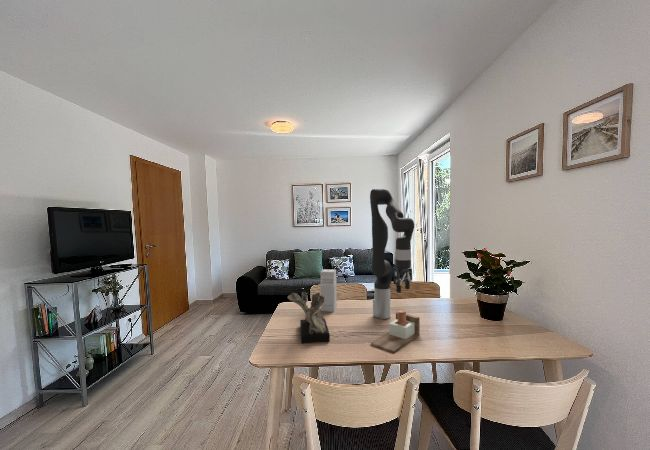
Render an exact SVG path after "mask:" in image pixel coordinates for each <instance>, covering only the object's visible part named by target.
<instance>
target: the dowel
mask: <svg viewBox="0 0 650 450" xmlns="http://www.w3.org/2000/svg"><path fill="white" fill-rule="evenodd" d="M397 312H398V324H399V325H402V326H405V325H406V314H407V311H404V310H398V311H397Z"/></svg>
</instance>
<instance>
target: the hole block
mask: <svg viewBox="0 0 650 450" xmlns="http://www.w3.org/2000/svg"><path fill="white" fill-rule="evenodd" d="M388 332H389V334H390V335H393V336H396V337H399V338H403V339H407V338H409V337H410V336H412V335H413V334H415V323H414V322H410V321H407V320H406V325H405V326H402V325H399V324H398V319H396V318H395V319H394V320H392V321H391V322H389V323H388Z"/></svg>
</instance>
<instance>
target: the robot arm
mask: <svg viewBox="0 0 650 450" xmlns="http://www.w3.org/2000/svg"><path fill="white" fill-rule="evenodd" d="M369 204H370V211H371V238H372V240H371V241H372V242H371V243H372V257H371V258H372V259H371V271H372V274H373V276H375V277H376V279H375V281H374V283H373V284H374V286H373V287H374V289H373V290H374V299H372V316H373V317H375V318H377V319H380V320H386V319H390V318H391V285H392V276H393V284H394V285H396V286H395V287H396V288H395V289H396V290H395V291H396V293H399V294H402V283H403V281H404V289H405V290H410V289H411V284H410V283H411V281H412V280H413V268H412V250H411V241H412V237H413V233H414V230H415V221H414V220H413V219H412V218H411V217H404V213H403V212H402V211H401V210H400V208H399V207H398V205H397V204H396V202H395V199H394V198H393V196H392V194H391V192H390V190H389V189H387V188H372V189H371V190H370V193H369ZM381 205H382V206H383V205H385V206H386V208H385V214H386V216H387V217H388V219H389V220H390V223H391V227H392V230H393V231H394V232H396V233H403V235H401V236H399V237H397V238H396V239H395V259H394V262H395V265H394V267H395V269H397V271H394V272H393V271H392V265H391V263H390V262H389V261H388V260H386V259H385V251H386V248H387V244H388V239H389V227H388V225H387V223H386V221H385V220H384V218H383V217H382V215H381V213H380V210H379V206H381ZM392 272H393V275H392Z"/></svg>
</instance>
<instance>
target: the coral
mask: <svg viewBox="0 0 650 450" xmlns="http://www.w3.org/2000/svg"><path fill="white" fill-rule="evenodd" d="M287 299H288V300H289V301H291V302H293V303H294V304H295V305H298V306H299V307H300V308H301V310H303V312H304V314H305V316H304V319H300V320H299V321H300V322H299V325H300V339H301V340H300V341H301V342H300V343H301V344H313V343H327V342H330V341H331V338H330V337H331V336H330V335H331V334H330V330H329V328H328V325H327V321H326V319H325V318H324V315H321V314H320V313H318V312H317V311H319V309H321V305H322V304H323V303H324V299H325V297H323V296H322V295H321V292H317V293H314V294H312V295H311V302H310V307H309V306H308V305H307V301H308V300H307V292H306V291H302V292H301V296H300V295H299V294H298V293H297V292H296V293H295V292H292V293H290V294H289V295H288V296H287ZM316 312H317V313H316Z"/></svg>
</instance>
